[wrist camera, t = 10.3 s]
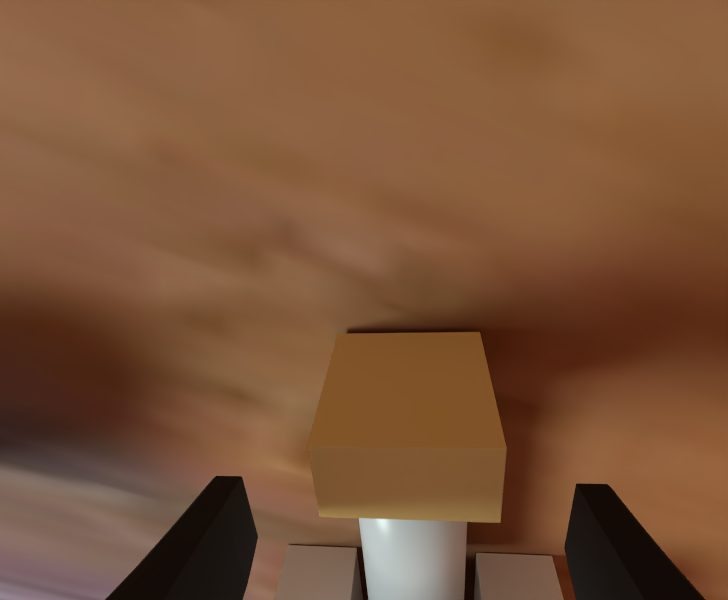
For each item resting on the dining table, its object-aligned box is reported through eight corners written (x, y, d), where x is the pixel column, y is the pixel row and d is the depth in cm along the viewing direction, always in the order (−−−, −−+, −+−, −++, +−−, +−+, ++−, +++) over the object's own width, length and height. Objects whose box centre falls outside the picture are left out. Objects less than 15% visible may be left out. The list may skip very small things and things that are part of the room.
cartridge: (469, 548, 19) (485, 691, 15) (362, 543, 20) (348, 680, 16) (479, 329, 15) (506, 448, 10) (337, 332, 15) (307, 445, 11)
